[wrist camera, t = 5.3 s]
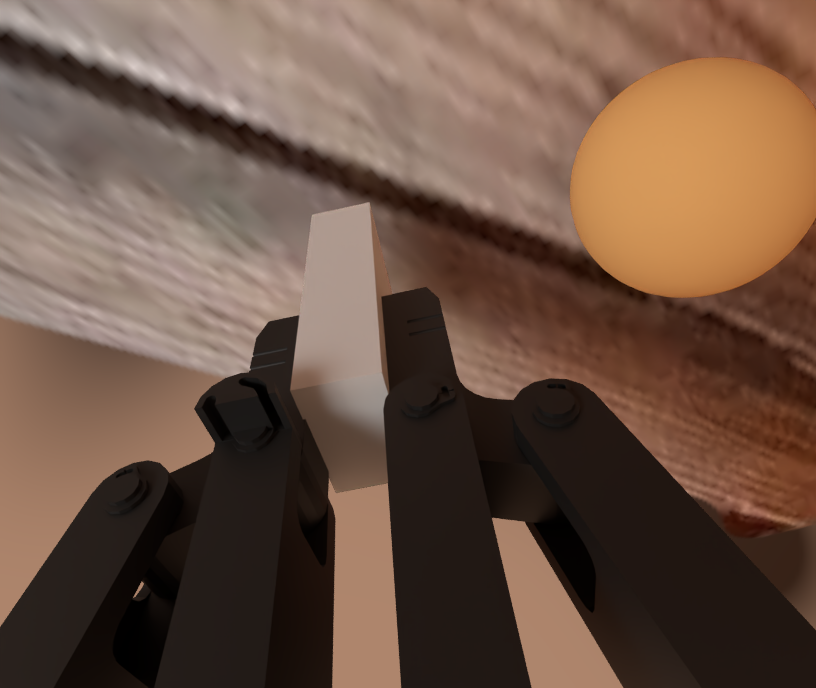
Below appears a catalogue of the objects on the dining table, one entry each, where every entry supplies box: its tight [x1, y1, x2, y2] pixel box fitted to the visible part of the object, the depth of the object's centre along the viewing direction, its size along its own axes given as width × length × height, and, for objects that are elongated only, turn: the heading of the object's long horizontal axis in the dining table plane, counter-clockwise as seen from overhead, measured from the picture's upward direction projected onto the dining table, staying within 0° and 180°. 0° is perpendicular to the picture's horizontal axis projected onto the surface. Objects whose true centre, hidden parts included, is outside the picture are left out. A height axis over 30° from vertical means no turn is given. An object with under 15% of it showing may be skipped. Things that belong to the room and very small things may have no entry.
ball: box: [570, 57, 816, 298], centre depth 13 cm, size 6×6×6 cm
